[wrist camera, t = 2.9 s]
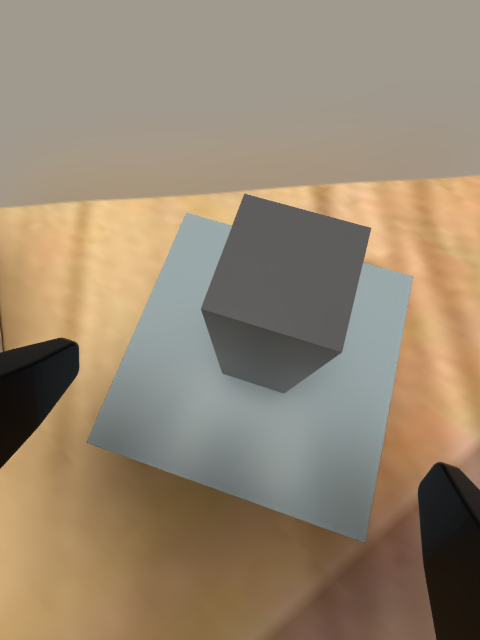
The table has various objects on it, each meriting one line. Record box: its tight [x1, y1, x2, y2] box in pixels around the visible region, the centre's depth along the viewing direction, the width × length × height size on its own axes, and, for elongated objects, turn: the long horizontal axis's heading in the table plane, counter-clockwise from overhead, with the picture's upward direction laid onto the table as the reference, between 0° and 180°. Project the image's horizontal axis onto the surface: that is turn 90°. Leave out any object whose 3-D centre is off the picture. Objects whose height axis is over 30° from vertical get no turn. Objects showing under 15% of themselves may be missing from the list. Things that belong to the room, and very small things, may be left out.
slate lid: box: [86, 194, 413, 543], centre depth 12 cm, size 12×12×11 cm
